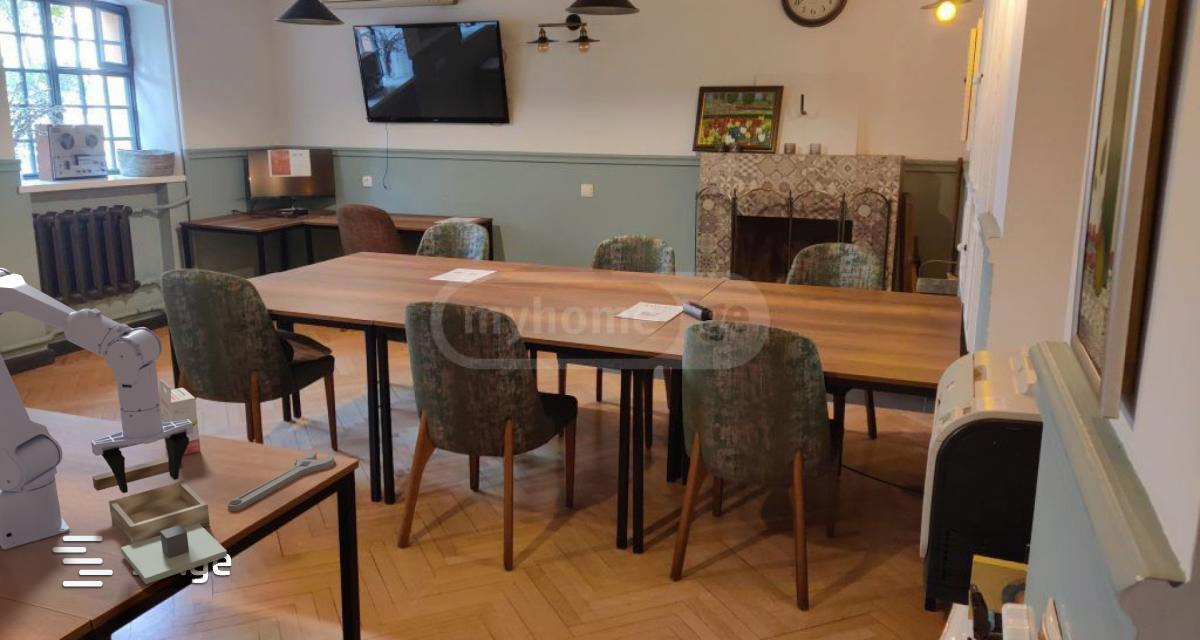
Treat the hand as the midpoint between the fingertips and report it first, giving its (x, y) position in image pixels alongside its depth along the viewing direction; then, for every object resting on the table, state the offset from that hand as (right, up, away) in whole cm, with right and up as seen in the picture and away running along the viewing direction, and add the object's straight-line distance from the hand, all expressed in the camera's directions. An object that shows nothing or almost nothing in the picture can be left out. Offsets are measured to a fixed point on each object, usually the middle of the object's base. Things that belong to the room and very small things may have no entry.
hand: (149, 483), depth 141 cm
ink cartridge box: (-13, 0, +38) cm, 40 cm away
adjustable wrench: (+13, -5, +24) cm, 27 cm away
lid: (+6, -12, -3) cm, 13 cm away
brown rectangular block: (-8, -1, +12) cm, 15 cm away
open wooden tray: (-2, -8, +7) cm, 11 cm away
